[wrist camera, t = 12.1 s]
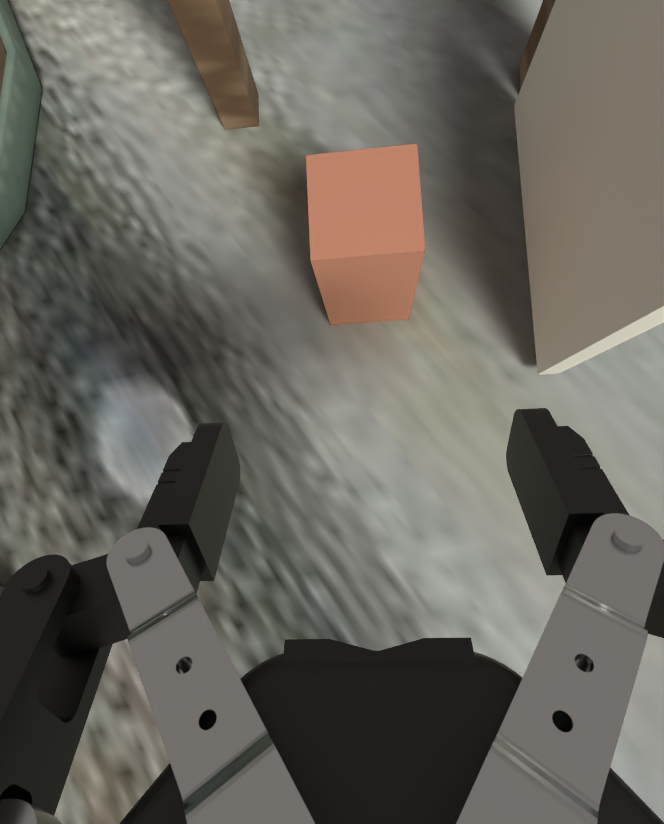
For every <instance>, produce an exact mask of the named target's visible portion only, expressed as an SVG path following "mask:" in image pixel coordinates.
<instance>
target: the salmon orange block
mask: <svg viewBox="0 0 664 824" xmlns="http://www.w3.org/2000/svg"><path fill="white" fill-rule="evenodd" d="M306 169H307V191H308V214H309V237H310V260H311V264H312V267H313V270H314V273H315V276H316V280H317V283H318V286H319V289H320V293H321V296H322V299H323V302H324V305H325V309H326V312H327V315H328V318H329V321H330V325H337V324H351V323H364V322H378V321H391V320H405V319H409V316H410V312H411V308H412V303H413V299H414V295H415V291H416V287H417V283H418V279H419V274H420V270H421V266H422V262H423V258H424V254H425V240H424V227H423V213H422V200H421V187H420V173H419V160H418V146H417V144H409V145H399V146H390V147H380V148H371V149H361V150H352V151H342V152H333V153H323V154H314V155H306Z"/></svg>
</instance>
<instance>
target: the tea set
mask: <svg viewBox="0 0 664 824" xmlns="http://www.w3.org/2000/svg"><path fill="white" fill-rule="evenodd" d="M41 94H42V88H41V85H40V82H39V80H38V77H37V74H36V71H35V69H34V66H33V64H32V61H31V59H30V56H29V54H28V51H27V49H26V46H25V44H24V41H23V38H22V36H21V33H20V31H19V28H18V26H17V23H16V21H15V18H14V16H13V13H12V11H11V8H10V6H9V3H8V1H7V0H0V249H1V247H2V246H3V244H4V243H5V241H6V240H7V238H8V237H9V235H10V234H11V232H12V231H13V229H14V228H15V226H16V225H17V223H18V222H19V220H20V219H21V217H22V216H23V214H24V213H25V207H26V200H27V193H28V186H29V179H30V172H31V165H32V157H33V150H34V143H35V136H36V129H37V122H38V115H39V108H40V101H41Z"/></svg>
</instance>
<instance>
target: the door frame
mask: <svg viewBox="0 0 664 824" xmlns="http://www.w3.org/2000/svg"><path fill="white" fill-rule="evenodd" d="M168 3H169V5H170V7H171V9H172V12H173V14H174V16H175V18H176V21H177V23H178V25H179V27H180V29H181V32H182V34H183V36H184V38H185V41H186V43H187V45H188V47H189V50H190V52H191V54H192V56H193V59H194V61H195V63H196V65H197V68H198V70H199V72H200V74H201V77H202V79H203V81H204V83H205V86H206V88H207V90H208V92H209V95H210V97H211V99H212V101H213V104H214V106H215V108H216V110H217V113H218V115H219V117H220V119H221V122H222V124H223V126H224V128H225V129H233V128H243V127H253V126H259V105H258V92H257V88H256V85H255V82H254V79H253V76H252V72H251V69H250V66H249V63H248V60H247V56H246V53H245V50H244V47H243V44H242V40H241V37H240V34H239V31H238V27H237V24H236V21H235V18H234V15H233V11H232V8H231V5H230V2H229V0H168ZM554 3H555V0H543V2H542V5H541V8H540V11H539V13H538V16H537V19H536V22H535V24H534V27H533V30H532V32H531V35H530V38H529V41H528V43H527V46H526V49H525V52H524V54H523V57H522V60H521V63H520V65H519V71H520V82H521V87H522V84H523V82H524V79H525V77H526V74H527V72H528V69H529V67H530V64H531V62H532V59H533V56H534V54H535V51H536V49H537V46H538V44H539V41H540V39H541V36H542V33H543V31H544V28H545V26H546V23H547V21H548V18H549V16H550V13H551V11H552V8H553V5H554Z"/></svg>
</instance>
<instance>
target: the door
mask: <svg viewBox="0 0 664 824" xmlns="http://www.w3.org/2000/svg"><path fill="white" fill-rule="evenodd" d="M514 111H515V123H516V134H517V145H518V157H519V168H520V179H521V191H522V202H523V213H524V225H525V236H526V247H527V259H528V270H529V281H530V293H531V304H532V316H533V327H534V338H535V350H536V361H537V372H538V374H557V373H561V372H563V371H565V370H567V369H569V368H571V367H573V366H575V365H577V364H579V363H581V362H583V361H585V360H587V359H589V358H591V357H593V356H596V355H598V354H600V353H602V352H604V351H606V350H608V349H610V348H612V347H614V346H616V345H618V344H620V343H622V342H624V341H626V340H628V339H630V338H632V337H635V336H637V335H639V334H641V333H643V332H645V331H647V330H649V329H651V328H653V327H655V326H657V325H659V324H661V323H663V322H664V0H555V3H554V5H553V8H552V11H551V13H550V16H549V18H548V21H547V23H546V26H545V28H544V31H543V33H542V36H541V39H540V41H539V44H538V46H537V49H536V51H535V54H534V56H533V59H532V62H531V64H530V67H529V69H528V72H527V74H526V77H525V79H524V82H523V84H522V87H521V90H520V92H519V95H518V97H517V100H516V102H515V105H514Z"/></svg>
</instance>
